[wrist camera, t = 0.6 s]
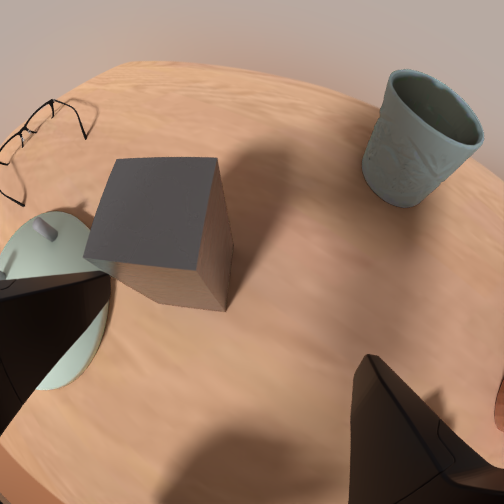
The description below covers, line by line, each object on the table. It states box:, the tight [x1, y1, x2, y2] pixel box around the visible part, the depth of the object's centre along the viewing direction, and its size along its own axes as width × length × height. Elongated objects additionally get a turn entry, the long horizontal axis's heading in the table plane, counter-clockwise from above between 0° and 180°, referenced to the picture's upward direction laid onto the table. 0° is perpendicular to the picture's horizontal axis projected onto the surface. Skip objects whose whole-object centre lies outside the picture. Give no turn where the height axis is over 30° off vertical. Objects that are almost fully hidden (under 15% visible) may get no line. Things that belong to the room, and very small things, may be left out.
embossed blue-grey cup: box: [362, 69, 484, 208], centre depth 22 cm, size 10×10×12 cm
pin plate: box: [0, 211, 109, 390], centre depth 21 cm, size 20×20×4 cm
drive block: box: [83, 157, 234, 312], centre depth 18 cm, size 6×6×12 cm
